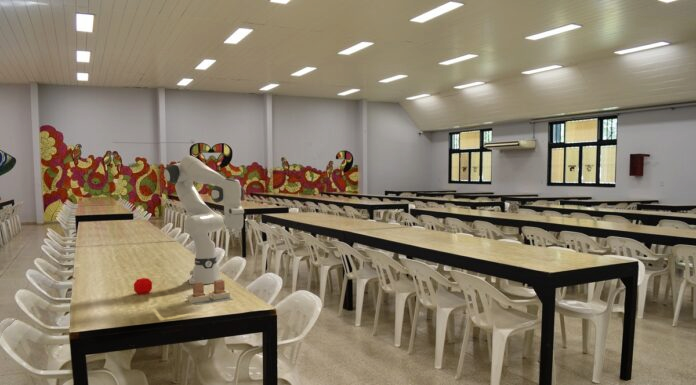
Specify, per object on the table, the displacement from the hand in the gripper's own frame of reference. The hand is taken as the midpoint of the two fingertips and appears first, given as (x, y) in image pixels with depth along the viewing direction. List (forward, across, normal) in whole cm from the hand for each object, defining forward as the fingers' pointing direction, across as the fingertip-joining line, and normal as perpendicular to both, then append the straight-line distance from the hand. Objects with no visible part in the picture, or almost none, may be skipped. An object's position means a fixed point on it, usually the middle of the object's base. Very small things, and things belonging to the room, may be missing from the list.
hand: (233, 236), depth 254 cm
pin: (+28, +12, -22) cm, 37 cm away
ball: (+29, -26, -41) cm, 57 cm away
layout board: (+29, +12, -17) cm, 36 cm away
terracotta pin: (+28, +12, -12) cm, 32 cm away
